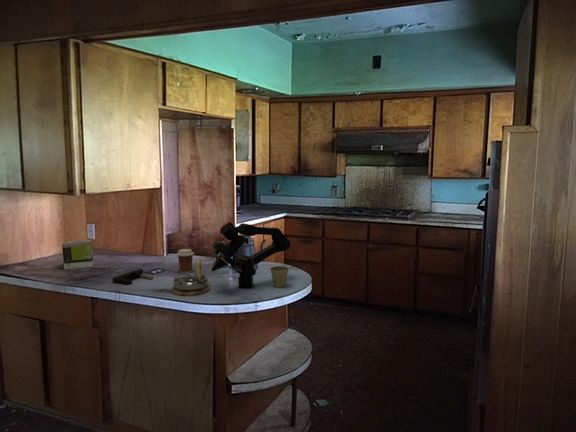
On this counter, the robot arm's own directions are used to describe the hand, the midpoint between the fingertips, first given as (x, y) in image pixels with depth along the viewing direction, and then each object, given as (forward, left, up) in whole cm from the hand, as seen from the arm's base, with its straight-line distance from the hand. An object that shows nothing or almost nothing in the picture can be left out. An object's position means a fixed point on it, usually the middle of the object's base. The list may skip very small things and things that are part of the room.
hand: (212, 270), depth 220 cm
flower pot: (-30, -13, -10) cm, 34 cm away
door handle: (+46, -16, -11) cm, 49 cm away
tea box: (+90, -38, -10) cm, 98 cm away
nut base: (+11, -1, -10) cm, 15 cm away
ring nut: (+11, -1, -8) cm, 14 cm away
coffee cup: (+25, -34, -10) cm, 43 cm away
